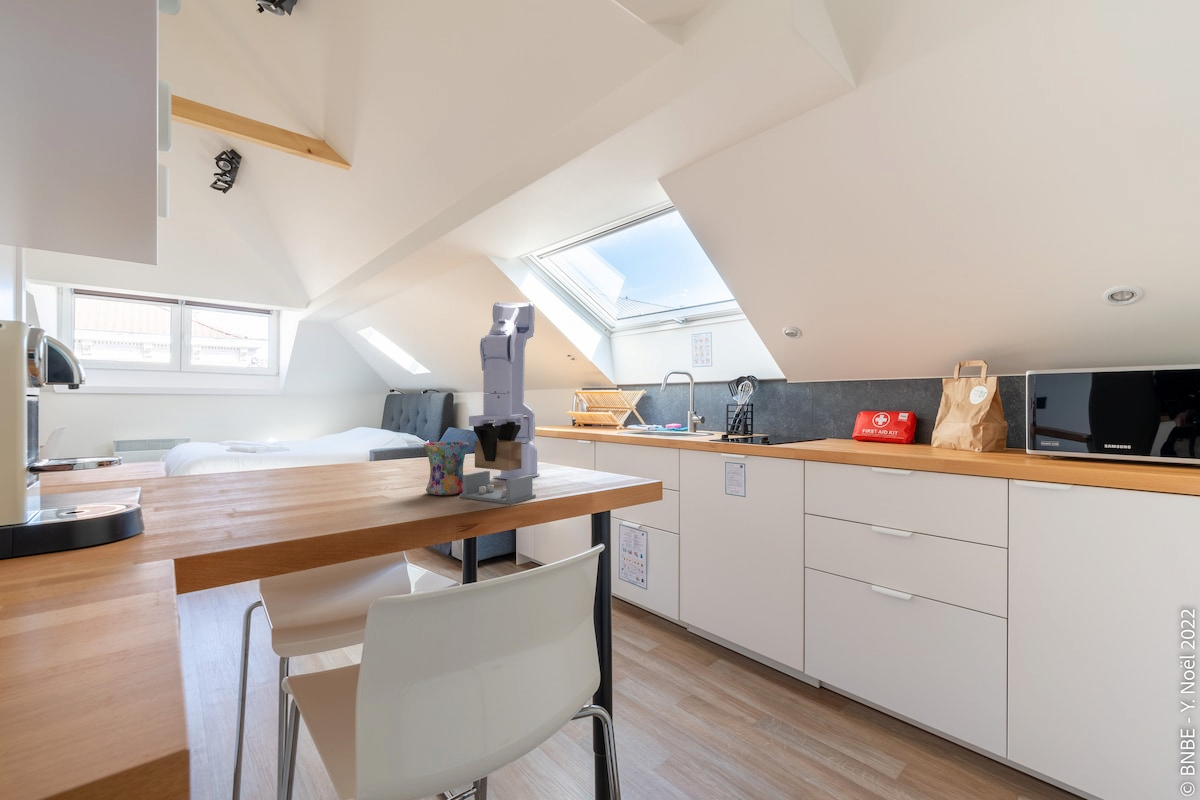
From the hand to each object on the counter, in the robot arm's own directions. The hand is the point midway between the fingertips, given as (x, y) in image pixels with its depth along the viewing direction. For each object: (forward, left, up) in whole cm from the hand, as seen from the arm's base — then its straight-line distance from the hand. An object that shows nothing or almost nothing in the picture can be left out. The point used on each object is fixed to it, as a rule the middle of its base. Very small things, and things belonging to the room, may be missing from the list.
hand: (497, 459), depth 106 cm
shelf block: (0, 0, -2) cm, 2 cm away
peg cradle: (0, 0, -8) cm, 8 cm away
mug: (+1, -13, -8) cm, 15 cm away
